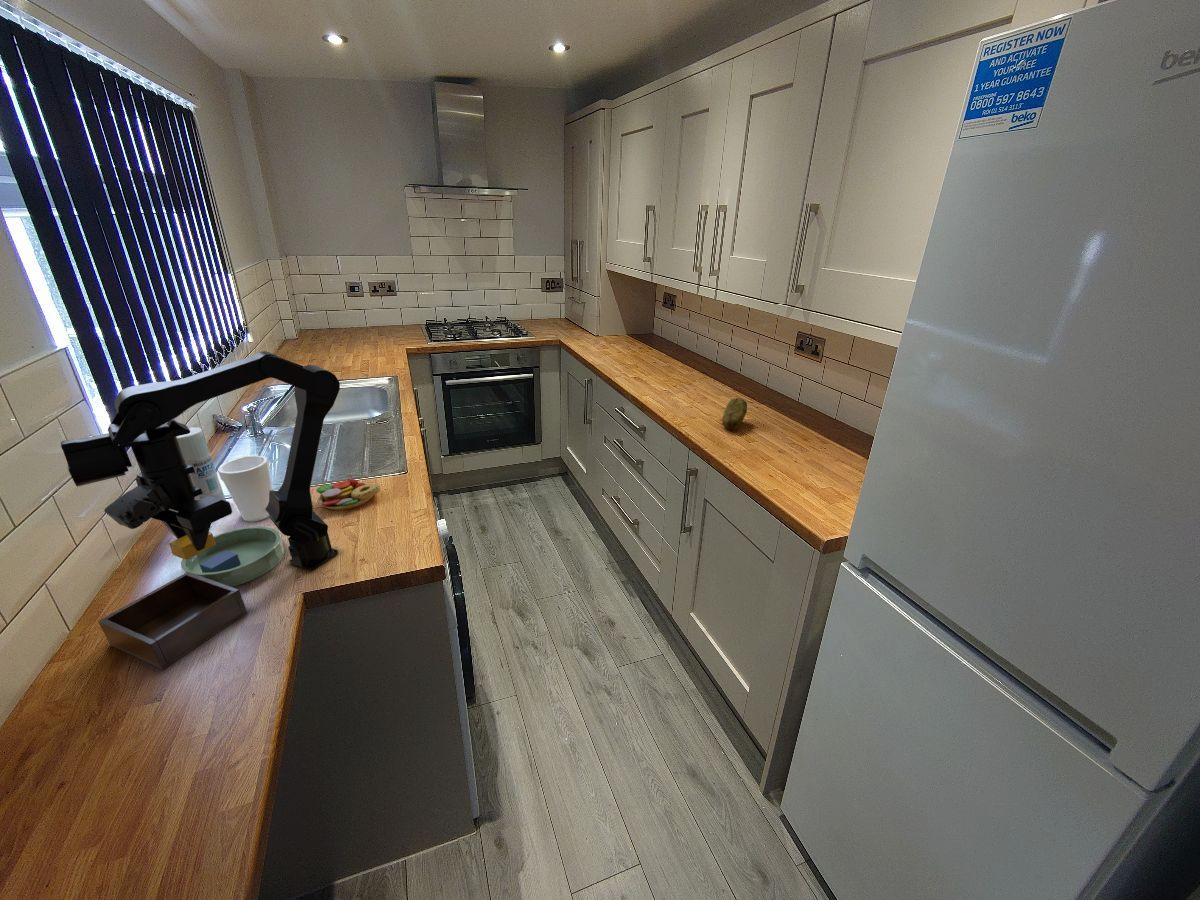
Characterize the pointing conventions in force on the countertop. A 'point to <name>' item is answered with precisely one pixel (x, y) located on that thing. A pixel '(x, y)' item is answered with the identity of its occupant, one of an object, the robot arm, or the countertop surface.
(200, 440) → the spray can
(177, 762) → the countertop surface
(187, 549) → the yellow block
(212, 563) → the blue gray block
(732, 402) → the olive green oval lump
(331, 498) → the toy food set
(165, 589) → the holder
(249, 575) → the bowl
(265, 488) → the foam cup
